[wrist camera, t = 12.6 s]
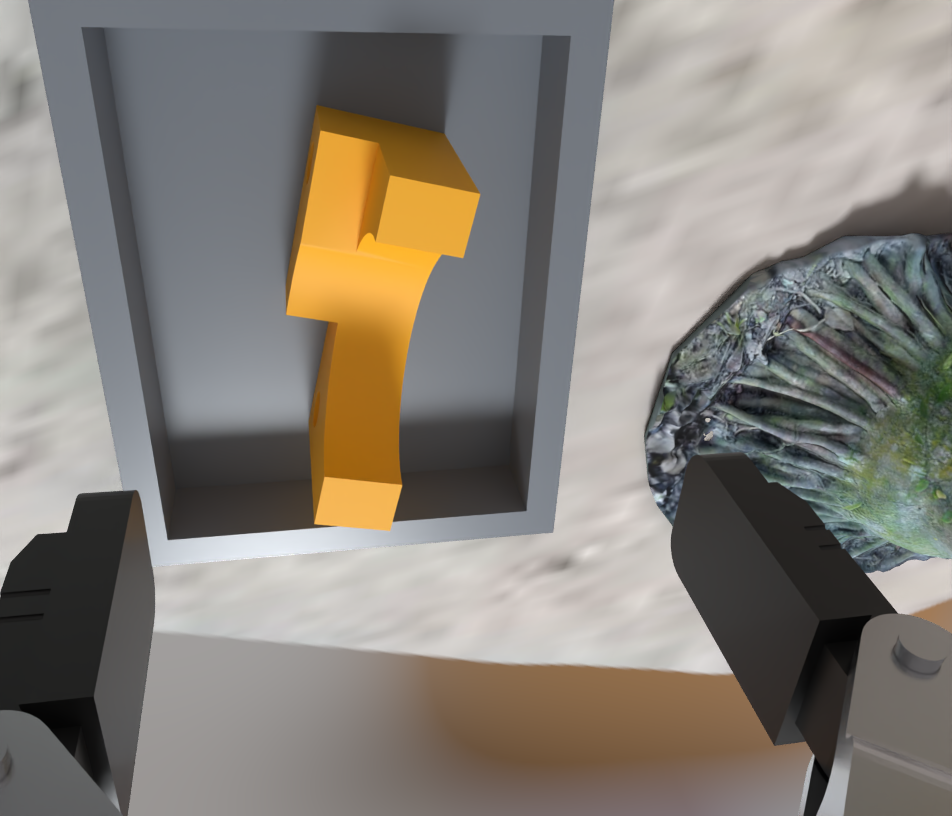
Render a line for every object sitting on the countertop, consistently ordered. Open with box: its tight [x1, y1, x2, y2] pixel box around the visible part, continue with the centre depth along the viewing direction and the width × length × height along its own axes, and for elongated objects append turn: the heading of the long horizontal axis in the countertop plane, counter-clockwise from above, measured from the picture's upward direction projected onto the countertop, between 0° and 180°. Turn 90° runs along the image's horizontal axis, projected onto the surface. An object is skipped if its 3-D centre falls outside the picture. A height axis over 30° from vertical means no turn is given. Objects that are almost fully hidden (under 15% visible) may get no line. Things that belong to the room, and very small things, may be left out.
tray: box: [28, 0, 614, 567], centre depth 32 cm, size 16×20×4 cm
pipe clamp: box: [285, 105, 480, 531], centre depth 30 cm, size 12×4×6 cm, turn 165°
